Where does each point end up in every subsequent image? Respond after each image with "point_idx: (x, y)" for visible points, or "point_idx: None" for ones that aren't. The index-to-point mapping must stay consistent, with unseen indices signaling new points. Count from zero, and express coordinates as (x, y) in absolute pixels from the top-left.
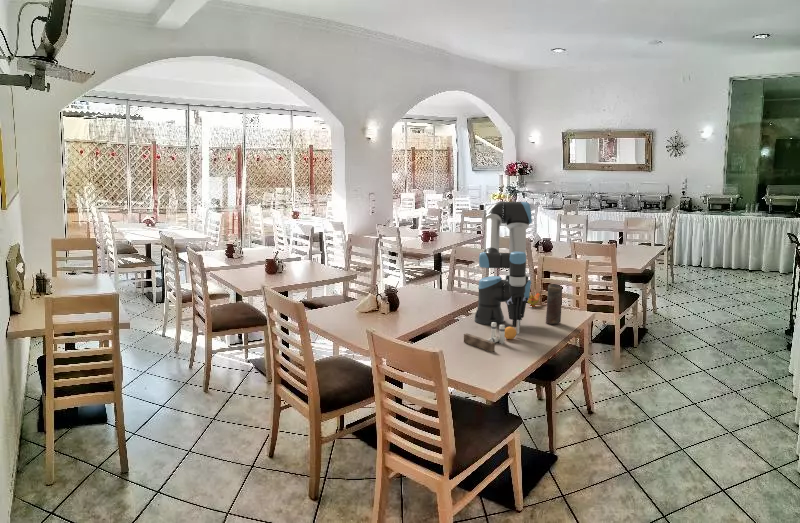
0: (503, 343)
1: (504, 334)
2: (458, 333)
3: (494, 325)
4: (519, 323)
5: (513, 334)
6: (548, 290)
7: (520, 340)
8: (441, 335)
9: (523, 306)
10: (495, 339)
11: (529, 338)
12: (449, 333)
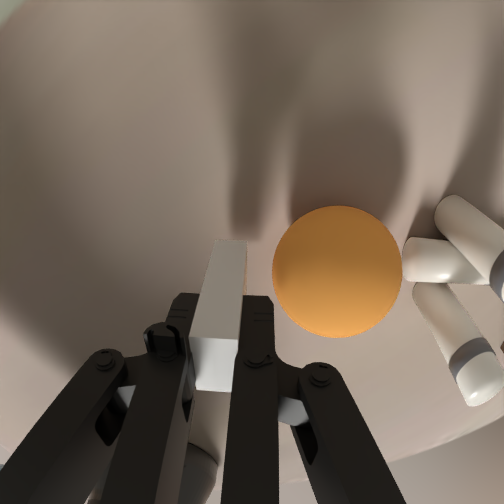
0: (458, 196)
1: (491, 228)
2: (406, 431)
3: (498, 361)
4: (197, 305)
5: (361, 212)
6: None
7: (285, 154)
8: (458, 430)
9: (35, 502)
10: None
11: (168, 143)
12: (423, 438)
